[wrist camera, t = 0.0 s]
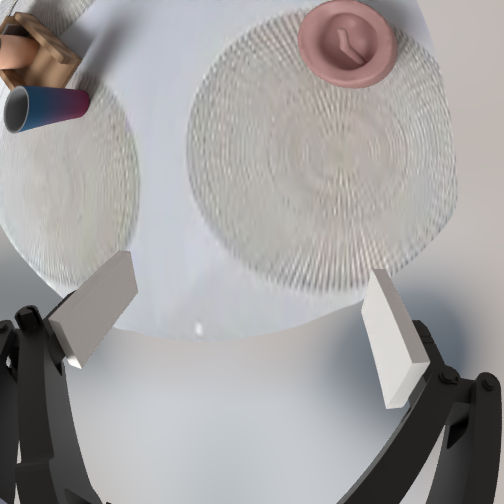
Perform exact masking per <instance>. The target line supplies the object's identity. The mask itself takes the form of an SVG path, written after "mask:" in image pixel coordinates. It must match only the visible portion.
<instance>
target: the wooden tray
mask: <svg viewBox="0 0 504 504" xmlns="http://www.w3.org/2000/svg"><path fill="white" fill-rule="evenodd" d="M7 23H8V24H17V25H22V26H23V27H24V28H25V29H26V30H27V31H28V32H29V34H28V35H27V37H33V38H35V39H36V40H37V41H38V42H39V48H38V52H37V55H36V57H35V59H34V61H33V63H32V64H31V65H30V66H29V67H28V68H26V69H0V77H1V78H2V80H3V81H4V82H5V84H6V85H7V87H8V88H9V89H10V91H12V90H13V89H14V88H15V87H17V86H39V87H54V88H65V86H66V85H67V83H68V81H69V80H70V78H71V77H72V75H73V74H74V72H75V70H76V69H77V67H78V66H79V64H80V63H81V62H82V60H81V59H80V58H79V57H78V56H77V55H76V54H75V53H74V52H73V51H72V50H71V49H69V48H68V47H67V46H66V45H65V44H64V43H63V42H62V41H61V40H60V39H59V38H57V37H56V36H55V35H54V34H53V33H52V32H51V31H50V30H49V29H47V28H46V27H45V26H44V25H43V24H42V23H41V22H40V21H38V20H37V19H36V18H35V17H34V16H33V15H32V14H28V13H22V12H15V14H14V15H13V16H6V17H5V19H4V21H3V23H2V24H1V26H0V35H1V34H2V32H3V30H4V29H5V27H6V25H7Z"/></svg>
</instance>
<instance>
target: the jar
mask: <svg viewBox="0 0 504 504" xmlns="http://www.w3.org/2000/svg"><path fill="white" fill-rule="evenodd" d="M38 48H39V42H38V41H37V40H36V39H35V38H33V37H24V36H13V35H0V69H26V68H28V67H29V66H30V65H31V64H32V63H33V61H34V59H35V57H36V55H37V52H38Z"/></svg>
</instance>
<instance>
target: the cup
mask: <svg viewBox="0 0 504 504" xmlns="http://www.w3.org/2000/svg"><path fill="white" fill-rule="evenodd" d="M88 107H89V96H88V94H87V93H86V92H85V91H83V90H74V89H65V88H54V87H39V86H17V87H15V88H14V89H13V90H12V91H11V92H10V93H9V95H8V97H7V100H6V103H5V107H4V123H5V126H6V128H7V130H8V131H9V132H10V133H13V134H14V133H18V132H22V131H25V130H29V129H32V128H36V127H40V126H43V125H47V124H52V123H56V122H60V121H65V120H69V119H74V118H79V117H81V116H83V115H84V114H85V113H86V111H87V110H88Z"/></svg>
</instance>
